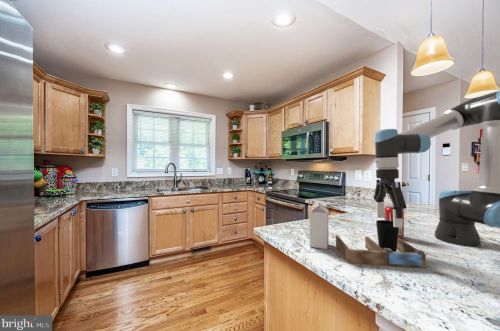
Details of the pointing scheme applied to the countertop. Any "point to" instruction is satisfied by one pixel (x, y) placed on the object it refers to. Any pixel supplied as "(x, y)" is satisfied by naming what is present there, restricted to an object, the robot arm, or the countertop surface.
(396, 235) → the cup
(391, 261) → the comb rack
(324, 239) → the milk carton
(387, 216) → the soda can
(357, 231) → the countertop surface
